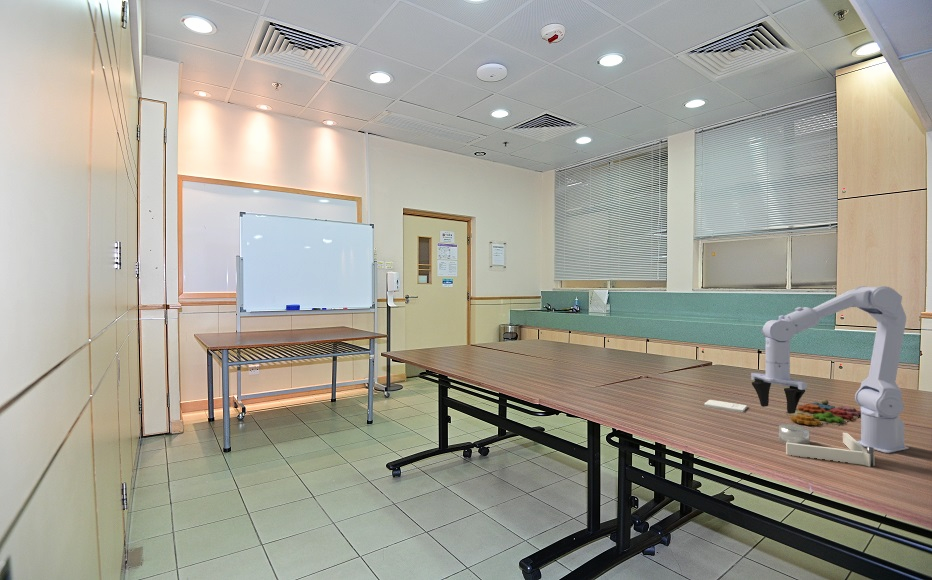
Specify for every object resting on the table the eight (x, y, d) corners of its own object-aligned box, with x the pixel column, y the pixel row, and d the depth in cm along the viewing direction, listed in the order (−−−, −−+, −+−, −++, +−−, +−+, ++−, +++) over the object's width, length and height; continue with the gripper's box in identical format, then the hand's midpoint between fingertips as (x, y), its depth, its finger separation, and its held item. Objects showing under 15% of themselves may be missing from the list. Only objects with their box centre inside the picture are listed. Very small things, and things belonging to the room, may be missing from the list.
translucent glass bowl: (790, 436, 131) (790, 423, 131) (815, 444, 124) (815, 430, 124) (773, 439, 129) (773, 425, 129) (798, 447, 122) (798, 433, 122)
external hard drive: (709, 403, 170) (747, 409, 162) (704, 407, 164) (743, 414, 156) (709, 399, 170) (747, 404, 162) (704, 403, 164) (743, 409, 156)
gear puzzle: (826, 432, 135) (826, 419, 135) (768, 419, 149) (768, 407, 149) (866, 417, 151) (866, 405, 151) (810, 406, 165) (810, 395, 165)
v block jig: (844, 442, 125) (844, 426, 125) (903, 459, 113) (903, 442, 113) (784, 453, 117) (784, 436, 117) (840, 473, 105) (840, 454, 105)
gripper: (743, 359, 132) (743, 404, 132) (794, 367, 119) (794, 418, 119) (760, 357, 135) (760, 402, 135) (811, 365, 121) (812, 415, 121)
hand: (777, 409), depth 127 cm, fingers open, 7 cm apart
